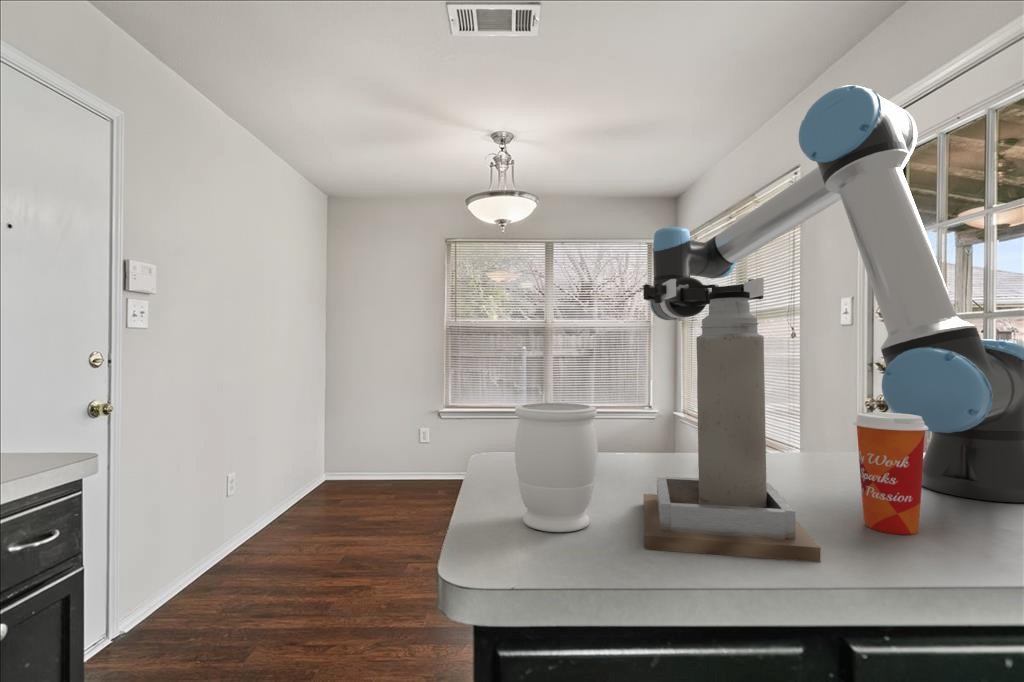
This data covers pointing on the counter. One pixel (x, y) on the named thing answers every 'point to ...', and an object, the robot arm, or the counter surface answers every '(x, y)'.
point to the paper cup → (891, 470)
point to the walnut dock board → (725, 540)
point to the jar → (556, 464)
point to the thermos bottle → (731, 405)
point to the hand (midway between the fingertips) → (717, 287)
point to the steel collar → (721, 513)
